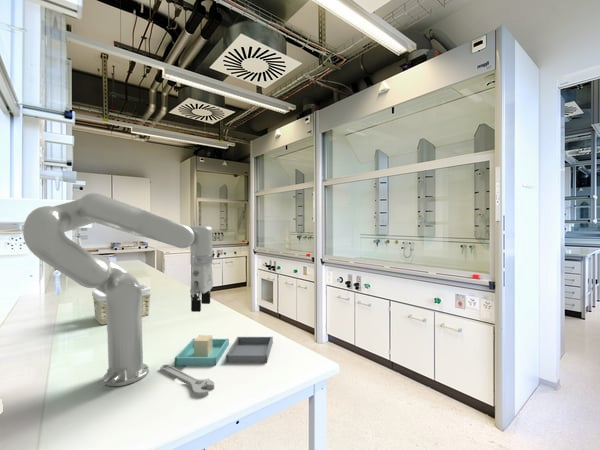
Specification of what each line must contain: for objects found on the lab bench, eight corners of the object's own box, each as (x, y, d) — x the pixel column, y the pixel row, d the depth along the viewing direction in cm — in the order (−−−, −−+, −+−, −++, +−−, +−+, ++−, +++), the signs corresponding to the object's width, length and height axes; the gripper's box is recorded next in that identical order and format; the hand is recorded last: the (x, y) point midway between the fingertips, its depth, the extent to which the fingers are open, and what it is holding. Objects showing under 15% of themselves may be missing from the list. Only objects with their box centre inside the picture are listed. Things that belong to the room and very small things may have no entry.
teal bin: (215, 366, 101) (215, 358, 101) (174, 366, 101) (174, 358, 101) (228, 346, 117) (228, 338, 117) (193, 346, 117) (193, 338, 117)
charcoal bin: (267, 364, 102) (266, 355, 102) (226, 364, 103) (226, 355, 103) (272, 344, 118) (272, 336, 118) (237, 344, 119) (237, 336, 119)
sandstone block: (207, 357, 107) (207, 340, 106) (194, 357, 107) (193, 340, 107) (212, 351, 112) (212, 335, 111) (199, 351, 112) (199, 335, 112)
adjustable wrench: (158, 371, 100) (158, 366, 100) (177, 364, 104) (177, 359, 104) (199, 400, 83) (199, 393, 83) (219, 390, 88) (219, 384, 88)
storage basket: (143, 308, 167) (142, 282, 167) (153, 315, 156) (152, 287, 155) (91, 319, 151) (90, 290, 150) (98, 327, 139) (97, 296, 139)
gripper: (203, 263, 99) (202, 315, 100) (219, 257, 117) (218, 301, 117) (180, 263, 100) (180, 314, 100) (199, 257, 117) (199, 300, 117)
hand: (201, 307), depth 108 cm, fingers open, 9 cm apart
